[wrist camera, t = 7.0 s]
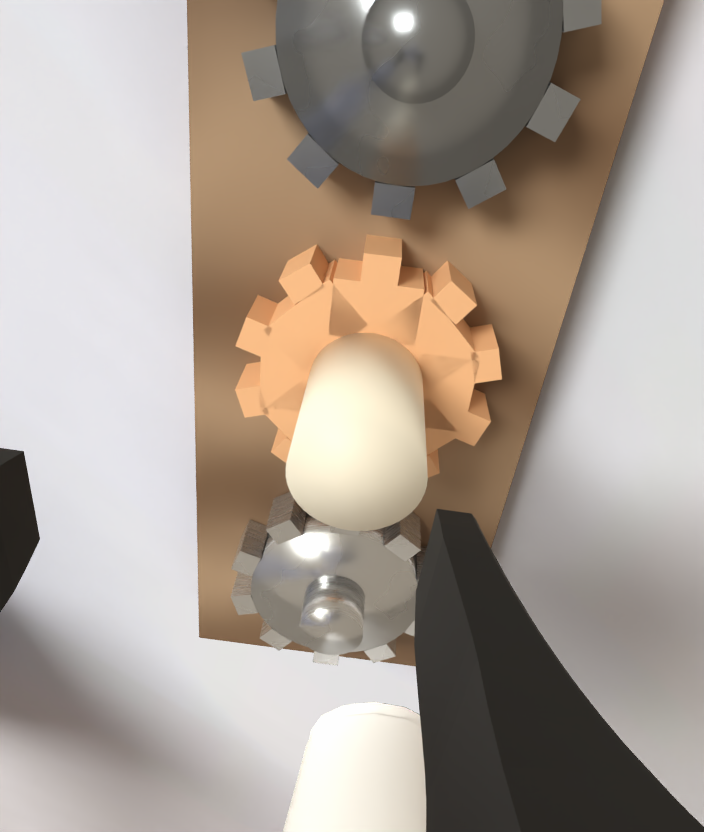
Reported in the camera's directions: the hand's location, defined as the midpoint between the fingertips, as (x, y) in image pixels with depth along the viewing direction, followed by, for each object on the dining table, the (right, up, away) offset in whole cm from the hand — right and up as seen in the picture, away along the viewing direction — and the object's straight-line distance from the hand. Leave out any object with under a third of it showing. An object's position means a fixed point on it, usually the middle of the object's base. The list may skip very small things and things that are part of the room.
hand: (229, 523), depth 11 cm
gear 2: (+2, -3, +11) cm, 12 cm away
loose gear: (+3, +4, +7) cm, 8 cm away
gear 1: (+3, +10, +3) cm, 11 cm away
